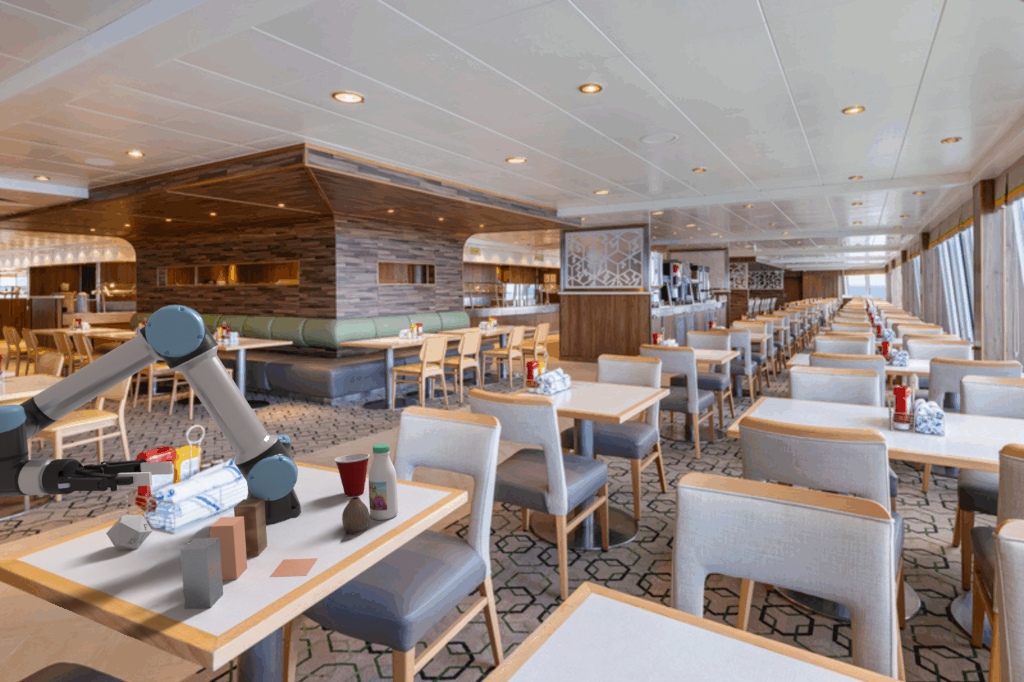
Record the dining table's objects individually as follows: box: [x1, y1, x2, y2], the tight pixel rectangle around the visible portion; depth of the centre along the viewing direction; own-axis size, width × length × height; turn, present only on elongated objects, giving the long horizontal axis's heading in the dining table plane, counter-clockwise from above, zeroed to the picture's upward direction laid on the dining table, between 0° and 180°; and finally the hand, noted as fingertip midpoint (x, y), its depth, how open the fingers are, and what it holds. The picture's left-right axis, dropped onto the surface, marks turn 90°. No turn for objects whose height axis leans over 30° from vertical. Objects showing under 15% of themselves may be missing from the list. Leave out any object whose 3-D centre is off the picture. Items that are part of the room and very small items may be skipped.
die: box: [106, 514, 153, 551], centre depth 139 cm, size 8×9×10 cm
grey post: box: [180, 537, 224, 610], centre depth 110 cm, size 5×5×12 cm
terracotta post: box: [209, 516, 248, 581], centre depth 121 cm, size 5×5×12 cm
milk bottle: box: [368, 443, 399, 521], centre depth 154 cm, size 8×8×20 cm
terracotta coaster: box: [269, 557, 319, 578], centre depth 124 cm, size 8×8×1 cm
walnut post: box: [233, 498, 268, 557], centre depth 132 cm, size 5×5×12 cm
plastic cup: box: [333, 453, 371, 498], centre depth 173 cm, size 11×11×12 cm
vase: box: [341, 496, 370, 535], centre depth 145 cm, size 7×7×9 cm
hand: (161, 473), depth 120 cm, fingers open, 7 cm apart
